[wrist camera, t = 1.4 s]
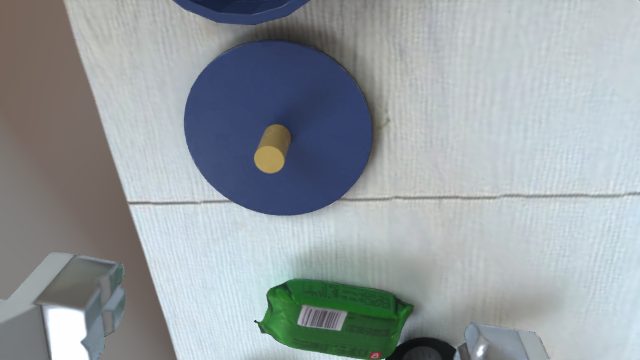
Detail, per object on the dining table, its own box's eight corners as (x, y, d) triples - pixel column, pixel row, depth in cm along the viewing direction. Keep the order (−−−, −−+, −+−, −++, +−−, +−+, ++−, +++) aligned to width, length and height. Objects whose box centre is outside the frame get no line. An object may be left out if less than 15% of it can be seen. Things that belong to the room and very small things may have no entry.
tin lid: (257, -8, 36) (242, 4, 31) (411, 122, 40) (419, 150, 35) (154, 140, 43) (128, 169, 38) (295, 237, 47) (288, 274, 42)
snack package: (267, 262, 49) (258, 297, 44) (414, 287, 49) (419, 325, 45) (261, 310, 52) (252, 348, 48) (397, 334, 53) (401, 373, 48)
